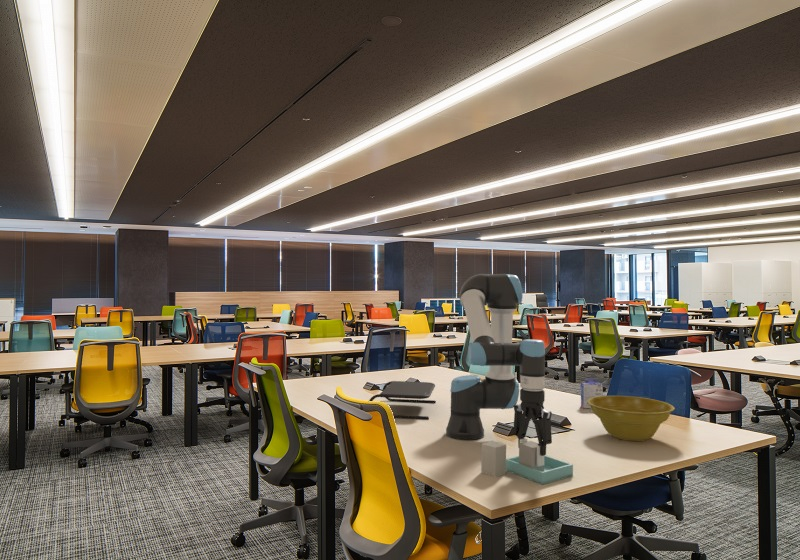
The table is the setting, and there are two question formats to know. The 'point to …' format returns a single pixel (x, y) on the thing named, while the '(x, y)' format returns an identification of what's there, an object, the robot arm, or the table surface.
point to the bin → (551, 472)
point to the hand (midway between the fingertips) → (531, 462)
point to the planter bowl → (630, 415)
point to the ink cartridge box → (590, 391)
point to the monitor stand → (407, 394)
